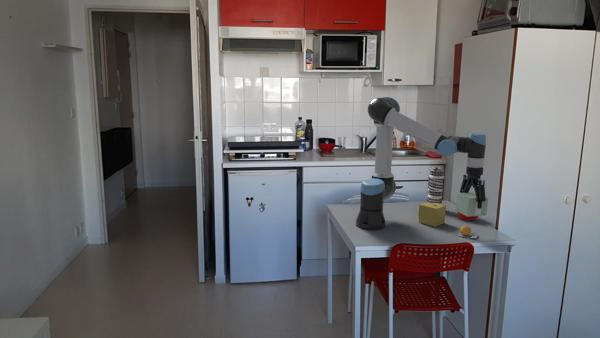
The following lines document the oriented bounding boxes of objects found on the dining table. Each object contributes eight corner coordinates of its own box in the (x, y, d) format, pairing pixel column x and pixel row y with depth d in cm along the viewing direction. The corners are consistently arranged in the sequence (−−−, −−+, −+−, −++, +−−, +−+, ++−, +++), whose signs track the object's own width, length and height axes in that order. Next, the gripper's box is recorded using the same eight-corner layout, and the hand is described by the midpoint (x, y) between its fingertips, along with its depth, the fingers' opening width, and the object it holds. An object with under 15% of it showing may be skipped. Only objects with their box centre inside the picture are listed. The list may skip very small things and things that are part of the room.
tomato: (465, 215, 254) (467, 199, 253) (482, 221, 244) (484, 204, 242) (451, 217, 250) (453, 201, 248) (468, 223, 239) (470, 207, 237)
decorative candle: (428, 211, 259) (432, 168, 254) (423, 207, 268) (426, 165, 263) (444, 211, 260) (448, 169, 255) (438, 207, 269) (442, 166, 264)
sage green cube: (467, 216, 212) (468, 198, 211) (455, 210, 222) (456, 193, 220) (486, 215, 215) (488, 197, 213) (473, 209, 224) (475, 192, 223)
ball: (475, 232, 218) (467, 239, 218) (469, 229, 223) (461, 236, 222) (469, 225, 217) (461, 231, 216) (464, 222, 221) (456, 228, 221)
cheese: (427, 218, 246) (429, 200, 244) (445, 223, 239) (447, 205, 237) (417, 222, 239) (418, 204, 237) (435, 227, 232) (437, 208, 230)
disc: (464, 239, 215) (464, 239, 215) (453, 232, 224) (453, 232, 224) (483, 238, 217) (483, 237, 217) (471, 231, 226) (471, 231, 226)
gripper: (497, 170, 204) (492, 218, 208) (468, 161, 226) (464, 204, 230) (482, 171, 202) (477, 218, 206) (454, 162, 224) (450, 205, 228)
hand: (470, 211), depth 218 cm, fingers closed on sage green cube, 10 cm apart
